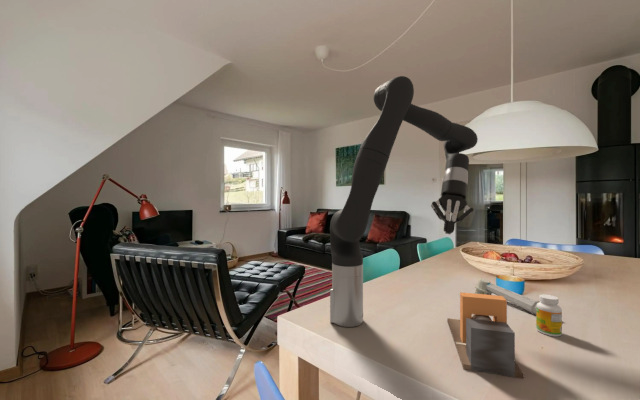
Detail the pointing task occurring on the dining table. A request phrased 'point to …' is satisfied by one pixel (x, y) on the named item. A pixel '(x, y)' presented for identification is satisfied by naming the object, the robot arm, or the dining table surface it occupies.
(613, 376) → the dining table surface
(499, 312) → the collar
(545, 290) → the dining table surface
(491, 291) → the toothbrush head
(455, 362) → the dining table surface
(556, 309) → the supplement bottle
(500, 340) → the pipe stand
